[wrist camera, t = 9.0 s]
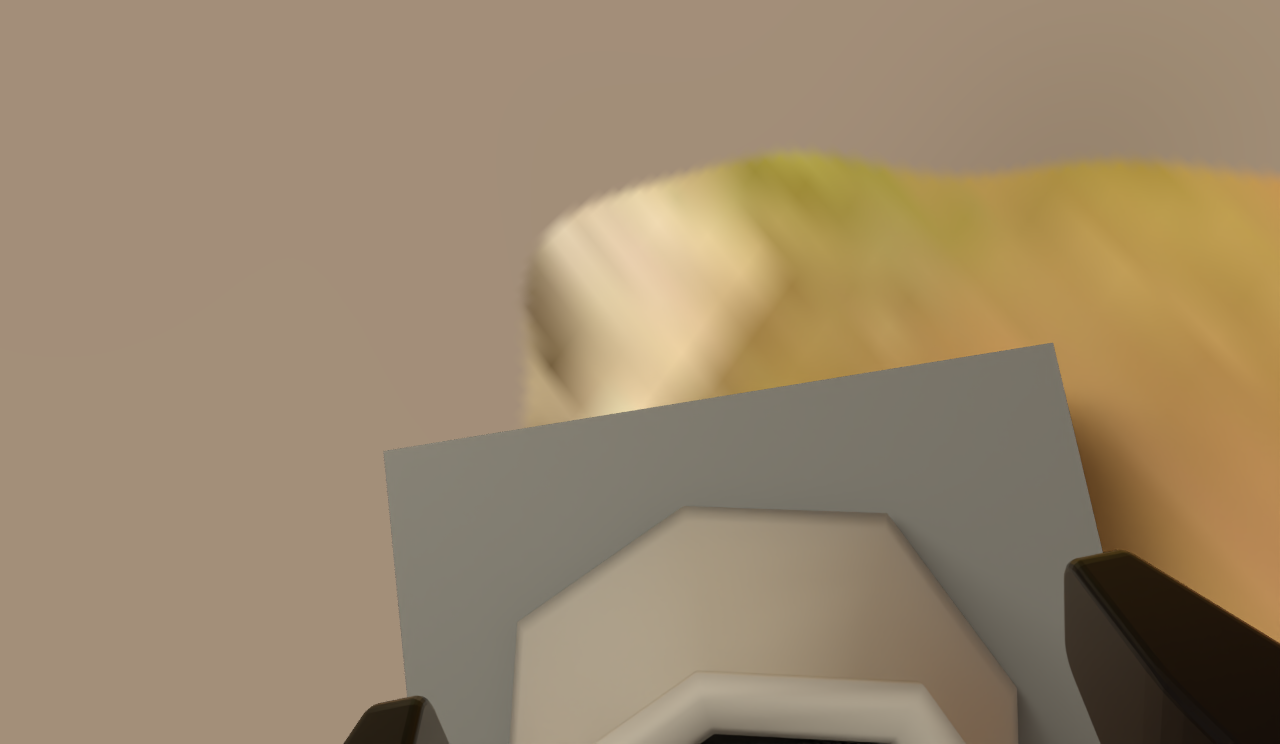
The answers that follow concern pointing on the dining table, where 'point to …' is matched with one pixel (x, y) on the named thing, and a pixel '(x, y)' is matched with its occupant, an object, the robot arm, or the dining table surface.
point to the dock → (760, 479)
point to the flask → (758, 641)
